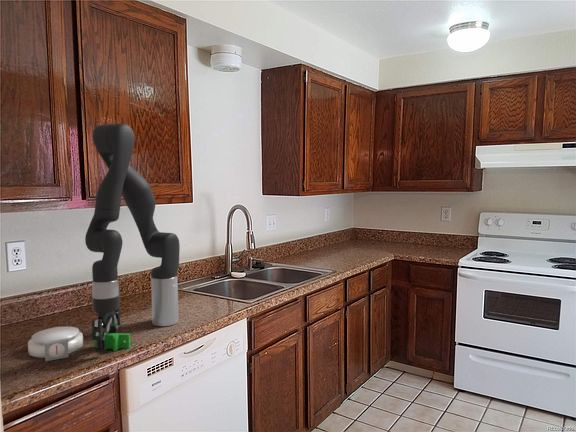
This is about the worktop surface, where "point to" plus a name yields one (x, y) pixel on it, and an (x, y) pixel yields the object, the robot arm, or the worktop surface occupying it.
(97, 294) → the robot arm
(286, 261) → the worktop surface
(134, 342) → the worktop surface
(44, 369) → the worktop surface
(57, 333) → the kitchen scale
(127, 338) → the pipe clamp
